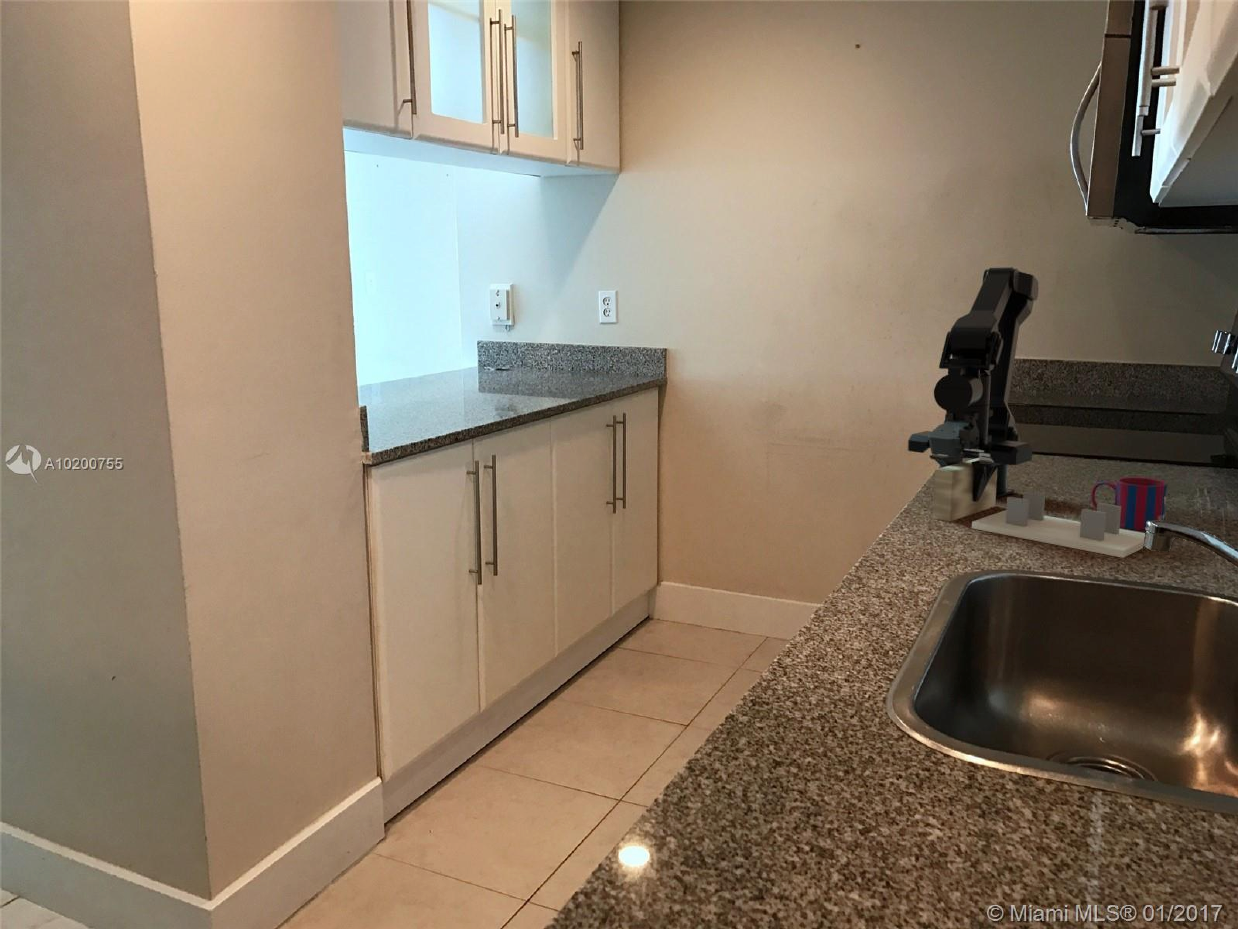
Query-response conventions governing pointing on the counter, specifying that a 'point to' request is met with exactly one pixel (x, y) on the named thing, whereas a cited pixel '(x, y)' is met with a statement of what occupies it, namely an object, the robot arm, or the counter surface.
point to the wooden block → (960, 492)
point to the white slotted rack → (1064, 526)
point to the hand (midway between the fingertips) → (965, 499)
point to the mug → (1137, 500)
